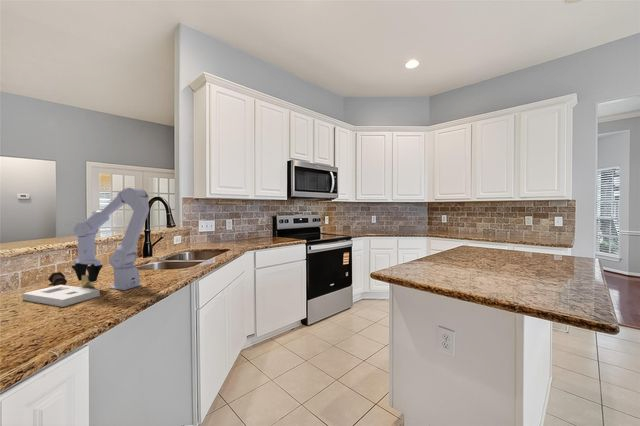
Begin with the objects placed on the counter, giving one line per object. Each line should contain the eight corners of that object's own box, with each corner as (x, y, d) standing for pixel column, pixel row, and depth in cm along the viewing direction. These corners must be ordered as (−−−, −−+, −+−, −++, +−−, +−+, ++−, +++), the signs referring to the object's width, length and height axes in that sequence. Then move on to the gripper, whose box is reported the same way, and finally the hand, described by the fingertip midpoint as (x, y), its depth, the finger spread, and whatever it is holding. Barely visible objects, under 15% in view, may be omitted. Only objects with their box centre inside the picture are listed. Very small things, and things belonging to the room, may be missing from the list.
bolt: (58, 293, 118) (54, 285, 128) (72, 285, 121) (67, 278, 131) (49, 283, 115) (45, 276, 125) (62, 275, 119) (58, 269, 128)
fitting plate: (99, 295, 108) (99, 289, 107) (62, 306, 96) (62, 299, 96) (61, 290, 115) (60, 284, 115) (22, 299, 104) (22, 292, 104)
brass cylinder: (96, 287, 120) (95, 273, 120) (85, 289, 116) (85, 275, 116) (90, 286, 121) (89, 273, 121) (79, 288, 117) (79, 275, 117)
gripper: (64, 250, 117) (65, 281, 117) (87, 252, 112) (88, 284, 112) (83, 248, 123) (84, 277, 124) (105, 249, 119) (106, 280, 119)
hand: (87, 280), depth 119 cm, fingers open, 7 cm apart
